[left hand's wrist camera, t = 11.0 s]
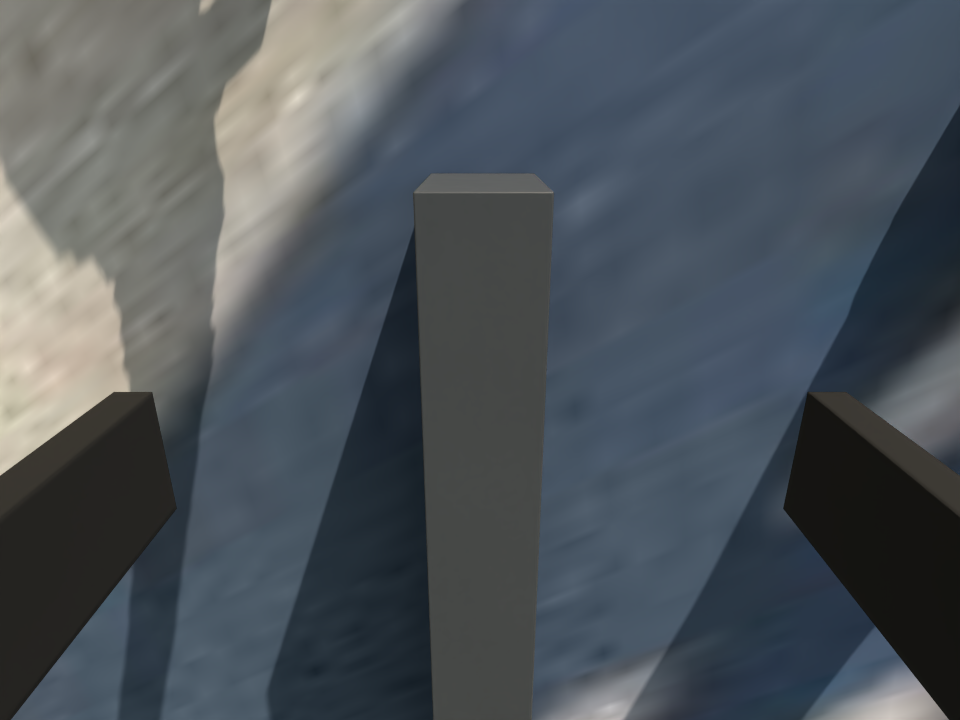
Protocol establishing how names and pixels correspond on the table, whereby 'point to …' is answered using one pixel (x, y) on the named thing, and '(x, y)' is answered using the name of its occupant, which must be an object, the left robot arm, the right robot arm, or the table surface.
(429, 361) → the beam
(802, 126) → the table surface
